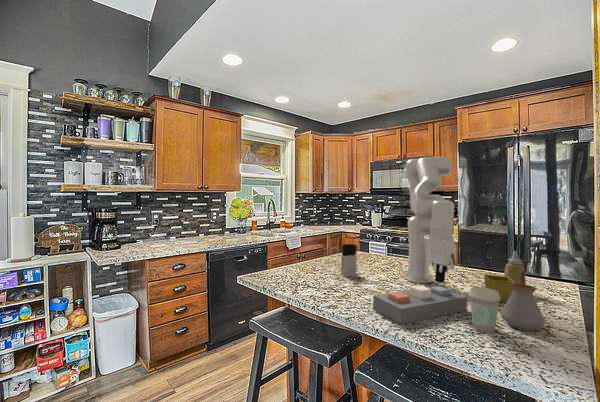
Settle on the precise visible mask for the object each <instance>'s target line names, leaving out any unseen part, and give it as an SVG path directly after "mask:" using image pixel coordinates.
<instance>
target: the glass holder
mask: <svg viewBox="0 0 600 402" xmlns="http://www.w3.org/2000/svg"><path fill="white" fill-rule="evenodd" d="M333 249H336V250H337V254H338V256H339V257H341V264H340V265H339V264H338V263H336V262H335V260H334V259H333V256H332V250H333ZM329 251H330V258H331V260H332V262H333V263H334V264H335V265H336V266H337V267H339V269H340V272H339V273H340V274H339V275H342V276H346V277H355V276H357V275H358V273H357V264H358V263H357V258H358V257H357V256H358V253H357V251H358V250H357V245H356V244H351V243H349V244H347V243H346V244H342V245H341V254H340V251H339V248H337V247H335V246H334V247H331V249H330V250H329Z"/></svg>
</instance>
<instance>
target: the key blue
mask: <svg viewBox="0 0 600 402" xmlns="http://www.w3.org/2000/svg"><path fill="white" fill-rule="evenodd" d="M430 287H431V288H430V289H431V293H434V294H436V295H439V296H446V295H451V292H452V290H451V289H448V288H447V287H442V286H440V285H439V286H437V287H433V286H430Z"/></svg>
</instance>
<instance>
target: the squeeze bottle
mask: <svg viewBox="0 0 600 402" xmlns="http://www.w3.org/2000/svg"><path fill="white" fill-rule="evenodd" d="M521 271H524V274H525V275H526V273H525V272H526V270H525V266H524V265H522V259H519V254H518V251H516V250H513V252H512V256H511V258H508V263H506V264H505V268H504V274H503V276H505V277H509V278H510V279H512V280H513V281H514V282H515V283H518V284H521V275H520V274H522V273H521ZM519 272H520V274H519ZM524 277H525V278H526V276H524ZM525 285H527V284H526V281H525Z"/></svg>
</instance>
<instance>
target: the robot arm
mask: <svg viewBox="0 0 600 402" xmlns="http://www.w3.org/2000/svg"><path fill="white" fill-rule="evenodd" d="M452 169H453V165H452V160H451V159H450V158H449V157H447V156H424V157H421V158H412V159H408V160H407V161H406V163H405V175H406V178H407V182H408V184H409V204H410V205H409V206H410V210H411V212H413V213H414V215H413V216H410V218H408V220H407V229H408V267H405V268H404V269H403V271H404V272H405V273H406V275H405V276H404V279H405V280H407V281H409V282H413V283H419V284H429V283H432V282H433V278H432V277H431V276H430V265H431V266H432V267H433V270H434V271H435V275H434V276H435V277H434V278H435V279H434V282H436V283H439V284H440V283H445V281H446V272H447V271H448V270H454V269H455V266H454V265H455V263H456V258H457V257H456V256H457V255H456V254H457V253H456V242H455V238H454V214H455V213H454V211H455V210H454V209H455V203H453V201H451V200H448V199H445V198H444V196H442V195H440V194H429V193H431V192H434V191H436V190H438V189H439V188H440V187H441V185H442V182H443V181H442V179H441V177H442V176H443V177H444V176H448V175H450V173H451V172H452ZM425 236H428V239H427V238H426V237H425Z"/></svg>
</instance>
